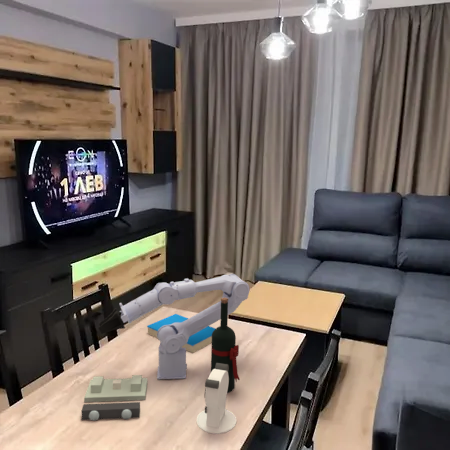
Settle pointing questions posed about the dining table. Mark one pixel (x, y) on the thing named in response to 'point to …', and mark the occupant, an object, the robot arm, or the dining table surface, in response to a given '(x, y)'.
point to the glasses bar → (110, 411)
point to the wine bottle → (225, 346)
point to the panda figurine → (216, 403)
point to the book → (194, 341)
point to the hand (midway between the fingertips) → (100, 328)
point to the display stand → (116, 389)
